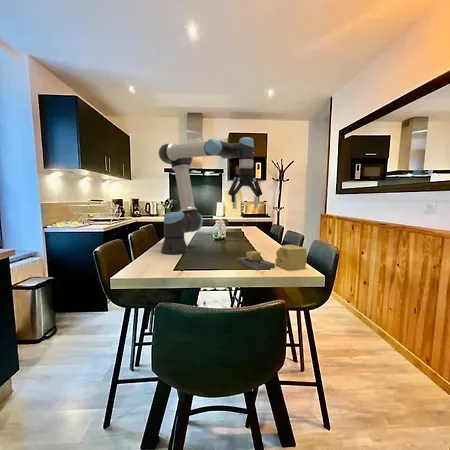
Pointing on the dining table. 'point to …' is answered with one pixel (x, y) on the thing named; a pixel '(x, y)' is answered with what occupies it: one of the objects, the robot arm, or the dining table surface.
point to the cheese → (291, 257)
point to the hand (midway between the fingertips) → (245, 208)
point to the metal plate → (256, 264)
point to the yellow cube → (252, 256)
